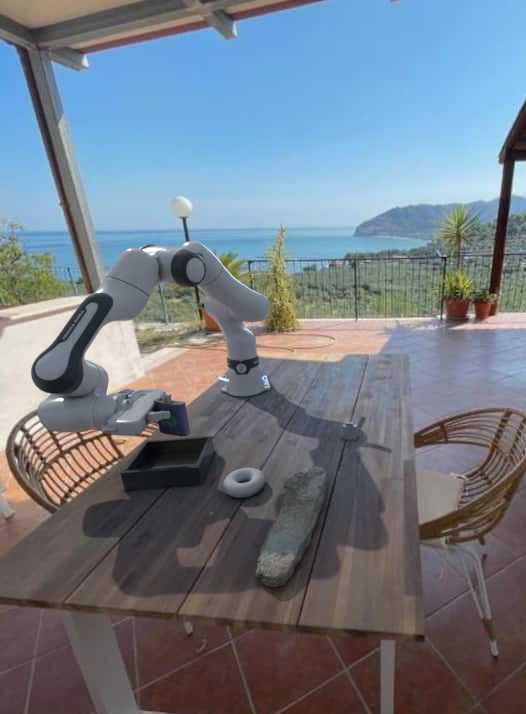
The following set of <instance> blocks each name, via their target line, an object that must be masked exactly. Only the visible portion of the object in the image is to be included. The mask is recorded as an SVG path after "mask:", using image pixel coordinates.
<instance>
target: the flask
mask: <svg viewBox="0 0 526 714" xmlns="http://www.w3.org/2000/svg"><path fill="white" fill-rule="evenodd" d="M163 397H164V398H163ZM163 397H161V398H156V399H155V400H154V403H155V408H156V412H161V411H163V410H171V412H172V416H171V417H170V418H169V419H161V420H158V421H157V423H158V430H159V433H161V434H163V435H167V436H168V435H169V436H175V437H188V436H189V435H191V428H190V423H189V417H188V412H187V405H186V401H184V400H174V399H172V394H171V393H169V394H166V395H165V396H164V395H163Z"/></svg>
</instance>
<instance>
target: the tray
mask: <svg viewBox="0 0 526 714" xmlns="http://www.w3.org/2000/svg"><path fill="white" fill-rule="evenodd" d="M213 438H214V437H213V436H212V435H209V436H208V435H207V436H194V437H179V438H164V439H162V438H161V439H149V440H144V441H143V442H142V444H141V445H140V446H139V448H138V449H137V451H136V452H135V453H134V454H133V455H132V457H131V459H130V460H129V461H128V462H127V463H126V465H125V466H124V468H122V470H121V472H120V473H119V474H120V477H121V482H122V486H123V489H124V491H136V490H147V489H149V490H150V489H160V488H171V487H172V488H173V487H185V486H187V487H188V486H198V485H202V484H203V482H204V479H205V476H206V474H207V471H208V468H209V467H210V464H211V461H212V459H213V456H214V455H215V451H216V450H215V445H214V439H213Z"/></svg>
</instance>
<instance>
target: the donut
mask: <svg viewBox="0 0 526 714" xmlns="http://www.w3.org/2000/svg"><path fill="white" fill-rule="evenodd" d="M222 484H223V485H222V489H223V490H224V492H225V494H226V495H228V496H230V497H232V498H236V499H244V498H248V497H252V496H254V495H255V494H256V495H257V494H258V493H259V492H260V491H261V490H262V489H263V488H264V486H265V484H266V476H265V474H264V473H263V472H262V471H261V470H259V469H257V468H254V467H241V468H238V469H235V470H233V471H232V472H230V473H229V474H228V475H226V477H225V478H224V480H223V483H222Z"/></svg>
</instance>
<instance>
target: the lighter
mask: <svg viewBox="0 0 526 714" xmlns="http://www.w3.org/2000/svg"><path fill="white" fill-rule="evenodd" d="M366 420H367V415H366V414H364V413H362V414H361V416H360V417H359V420H358V422H356V423H357V424H354V421H347V422H345V423H344V424H342V439H343V440H352V441H353V440H355V441H356V440H357V439H358V429H362V427H363V425H364V424H365V422H366Z"/></svg>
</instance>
